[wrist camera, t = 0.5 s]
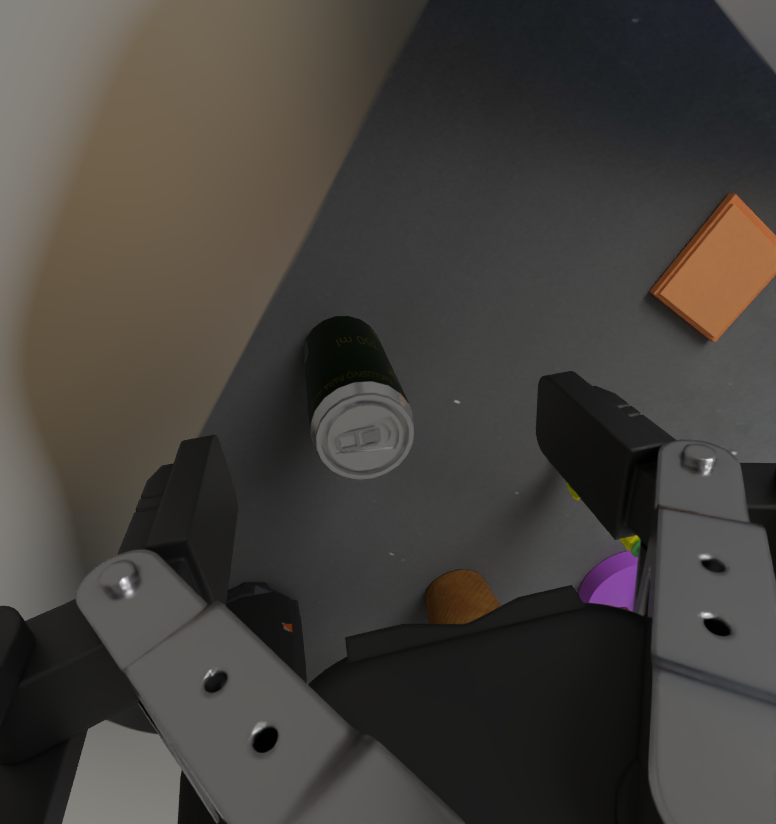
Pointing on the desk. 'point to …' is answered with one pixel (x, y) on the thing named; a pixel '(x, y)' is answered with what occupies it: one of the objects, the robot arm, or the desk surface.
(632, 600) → the figurine
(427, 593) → the disposable coffee cup
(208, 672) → the robot arm
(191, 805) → the portable speaker
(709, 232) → the orange square panel
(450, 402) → the desk surface
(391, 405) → the beer can
